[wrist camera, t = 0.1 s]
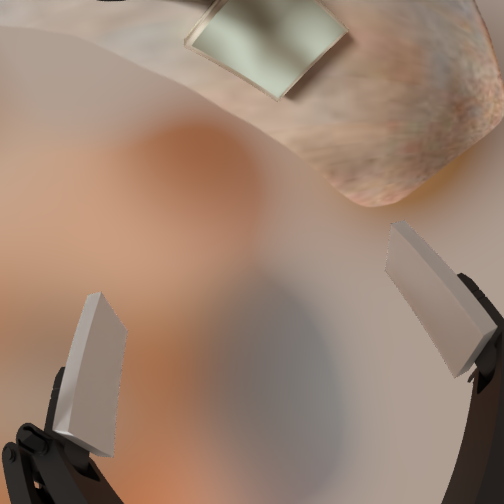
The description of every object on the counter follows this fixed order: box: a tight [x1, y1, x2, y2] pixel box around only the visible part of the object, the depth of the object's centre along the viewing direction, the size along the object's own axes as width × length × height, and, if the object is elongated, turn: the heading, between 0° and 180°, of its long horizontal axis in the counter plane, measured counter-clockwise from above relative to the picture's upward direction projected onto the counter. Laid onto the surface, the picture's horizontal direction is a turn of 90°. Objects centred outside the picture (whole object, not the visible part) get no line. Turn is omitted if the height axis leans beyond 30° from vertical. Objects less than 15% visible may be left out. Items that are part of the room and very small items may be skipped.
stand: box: [184, 0, 349, 102], centre depth 23 cm, size 12×12×5 cm
